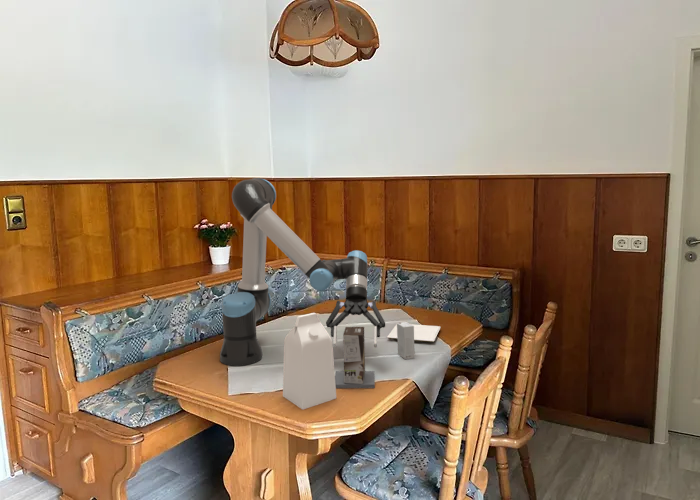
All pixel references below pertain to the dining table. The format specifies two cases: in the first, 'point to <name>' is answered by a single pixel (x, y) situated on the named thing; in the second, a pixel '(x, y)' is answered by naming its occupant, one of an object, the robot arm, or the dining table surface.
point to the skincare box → (405, 340)
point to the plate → (419, 333)
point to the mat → (367, 383)
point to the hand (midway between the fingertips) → (355, 345)
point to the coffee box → (354, 355)
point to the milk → (308, 363)
